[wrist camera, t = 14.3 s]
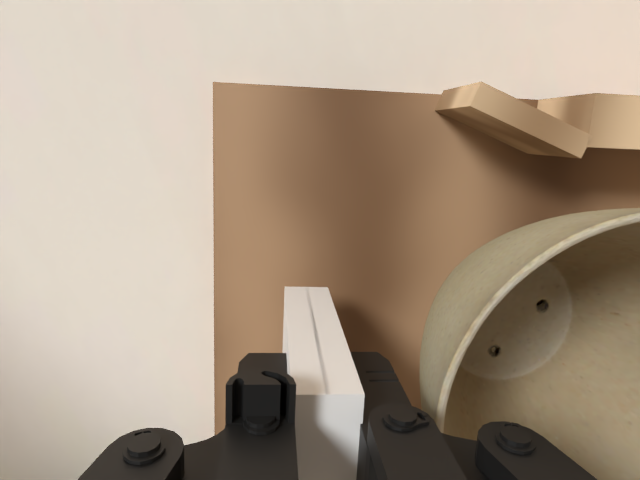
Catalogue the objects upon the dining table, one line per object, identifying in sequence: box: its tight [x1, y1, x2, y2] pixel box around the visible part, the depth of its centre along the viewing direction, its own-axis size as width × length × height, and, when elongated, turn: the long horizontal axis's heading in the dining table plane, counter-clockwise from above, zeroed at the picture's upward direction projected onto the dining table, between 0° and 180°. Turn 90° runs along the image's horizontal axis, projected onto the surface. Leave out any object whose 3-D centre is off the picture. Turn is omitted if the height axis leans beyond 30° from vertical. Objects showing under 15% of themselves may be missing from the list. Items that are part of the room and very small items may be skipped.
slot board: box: [213, 82, 640, 435], centre depth 17 cm, size 22×15×4 cm
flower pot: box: [419, 208, 640, 480], centre depth 15 cm, size 10×10×7 cm
